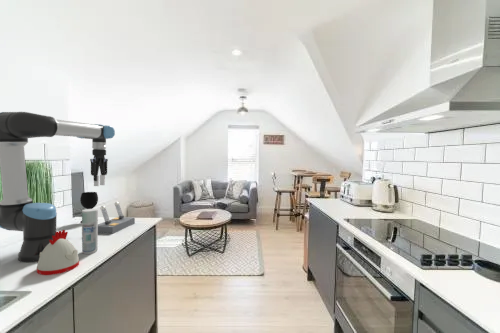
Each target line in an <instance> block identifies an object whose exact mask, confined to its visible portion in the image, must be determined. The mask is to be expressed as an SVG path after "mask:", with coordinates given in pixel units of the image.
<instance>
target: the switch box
mask: <svg viewBox="0 0 500 333" xmlns="http://www.w3.org/2000/svg"><path fill="white" fill-rule="evenodd" d="M135 219H136V218H135V217H128V216H127V217H126V216H124V218H122V219H119V216H116V217H114V218H112V219H109V220H110V221H111V223H109V224H107V225H106V224H105V221H103V222H101V223H98V234H108V235H109V234H110V235H111V234H115V233H117V232H119V231H122V230H124V229H126V228H128V227H130V226H132V225H135V224H136V223H135V221H136V220H135Z"/></svg>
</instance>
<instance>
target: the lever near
mask: <svg viewBox="0 0 500 333" xmlns="http://www.w3.org/2000/svg"><path fill="white" fill-rule="evenodd" d="M100 211H101V213H102V214H101V215H102V217H103V219H104V222H105V224H106V225H107V224H109V223H111V221H110V220H111V219H110V218H109V214H108V212H107V208H106V206H105V205H101V206H100Z"/></svg>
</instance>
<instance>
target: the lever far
mask: <svg viewBox="0 0 500 333" xmlns="http://www.w3.org/2000/svg"><path fill="white" fill-rule="evenodd" d="M114 206H115V210H116V212H117V215H118V217H119V219H122V218H124V217H125V215H124V214H123V211H122V208H121V206H120V202H118V201H115V203H114Z"/></svg>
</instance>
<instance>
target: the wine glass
mask: <svg viewBox="0 0 500 333" xmlns="http://www.w3.org/2000/svg"><path fill="white" fill-rule="evenodd" d="M80 194H81V195H80V204H81V206H82V207H83V208H84V209H95V208H96V206H97V204H98V203H99V195H98V192H96V191H84V192H82V193H80ZM80 223H81V224H82V220H81V221H80Z"/></svg>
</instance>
